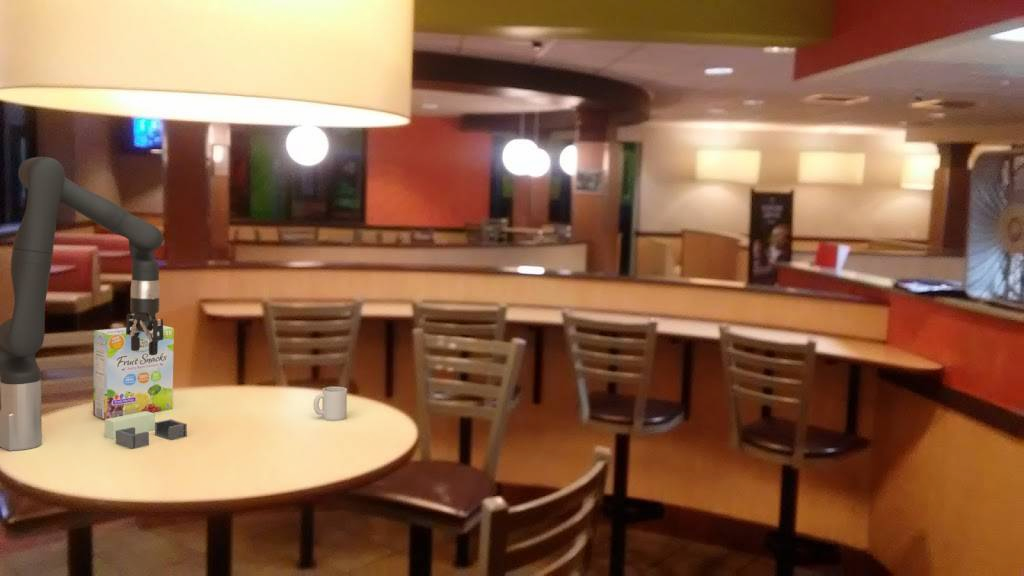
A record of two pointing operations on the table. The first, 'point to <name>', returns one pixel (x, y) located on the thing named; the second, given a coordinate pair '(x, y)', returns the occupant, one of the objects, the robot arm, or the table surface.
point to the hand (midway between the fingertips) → (144, 352)
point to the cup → (332, 403)
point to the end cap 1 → (131, 438)
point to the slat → (130, 423)
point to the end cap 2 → (170, 429)
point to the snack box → (131, 374)
